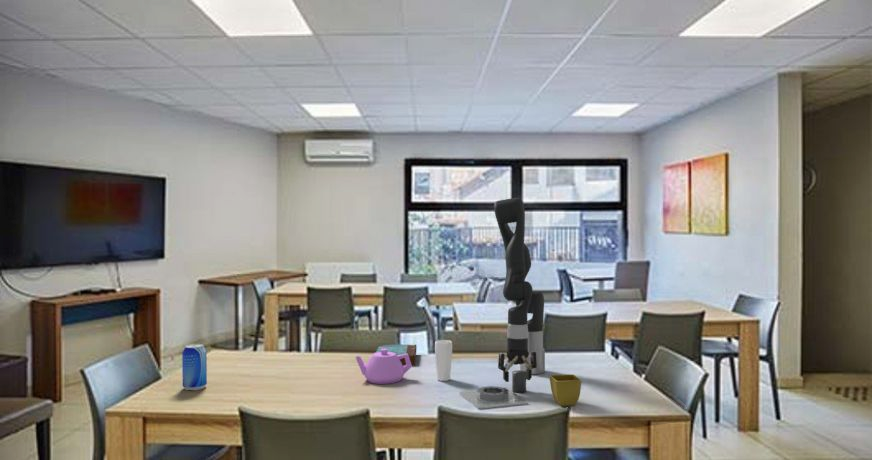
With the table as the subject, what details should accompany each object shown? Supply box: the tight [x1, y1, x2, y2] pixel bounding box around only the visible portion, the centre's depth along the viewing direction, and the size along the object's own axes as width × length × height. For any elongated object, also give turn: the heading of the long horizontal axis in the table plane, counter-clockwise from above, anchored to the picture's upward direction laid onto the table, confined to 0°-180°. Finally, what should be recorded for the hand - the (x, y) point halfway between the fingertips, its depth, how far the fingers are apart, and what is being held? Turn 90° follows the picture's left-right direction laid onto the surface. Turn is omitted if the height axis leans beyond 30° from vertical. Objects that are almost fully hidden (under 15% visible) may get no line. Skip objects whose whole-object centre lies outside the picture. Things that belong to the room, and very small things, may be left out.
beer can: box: [181, 343, 208, 391], centre depth 227 cm, size 8×8×16 cm
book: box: [375, 344, 417, 366], centre depth 272 cm, size 23×18×5 cm
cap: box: [511, 369, 527, 394], centre depth 221 cm, size 5×5×7 cm
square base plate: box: [459, 385, 529, 410], centre depth 211 cm, size 18×18×3 cm
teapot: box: [355, 349, 413, 385], centre depth 238 cm, size 22×16×12 cm
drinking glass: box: [434, 339, 453, 382], centre depth 237 cm, size 7×7×15 cm
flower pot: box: [549, 373, 582, 407], centre depth 205 cm, size 9×9×9 cm
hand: (517, 380), depth 220 cm, fingers open, 8 cm apart
